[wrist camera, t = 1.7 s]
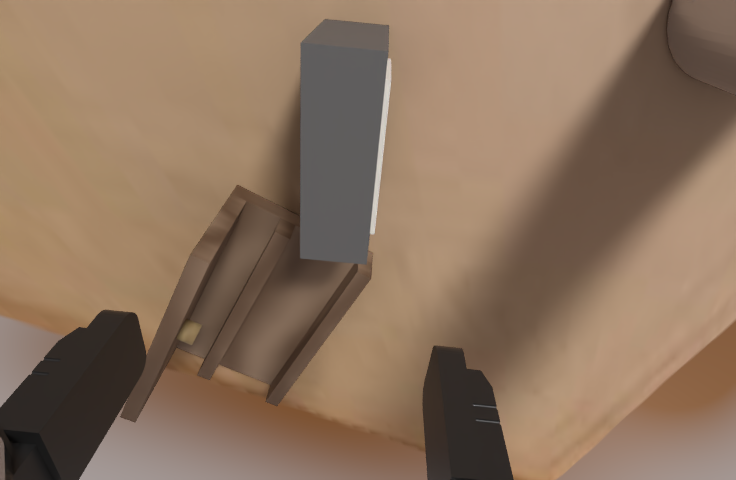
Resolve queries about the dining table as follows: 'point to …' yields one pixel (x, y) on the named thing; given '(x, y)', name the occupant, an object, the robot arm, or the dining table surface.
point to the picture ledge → (251, 301)
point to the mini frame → (342, 137)
